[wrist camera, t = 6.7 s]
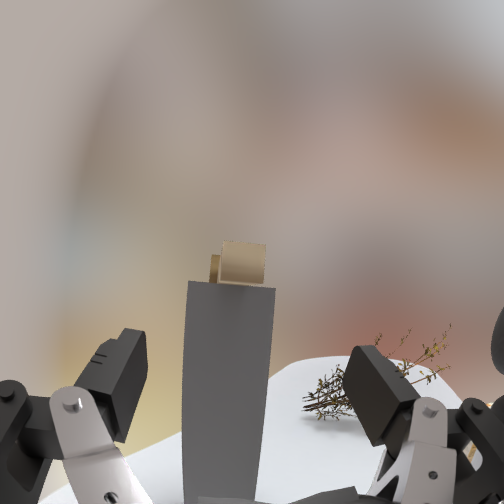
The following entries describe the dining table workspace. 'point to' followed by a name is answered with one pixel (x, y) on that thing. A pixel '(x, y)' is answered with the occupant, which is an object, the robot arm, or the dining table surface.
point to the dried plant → (345, 394)
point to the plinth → (224, 388)
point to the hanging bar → (238, 264)
